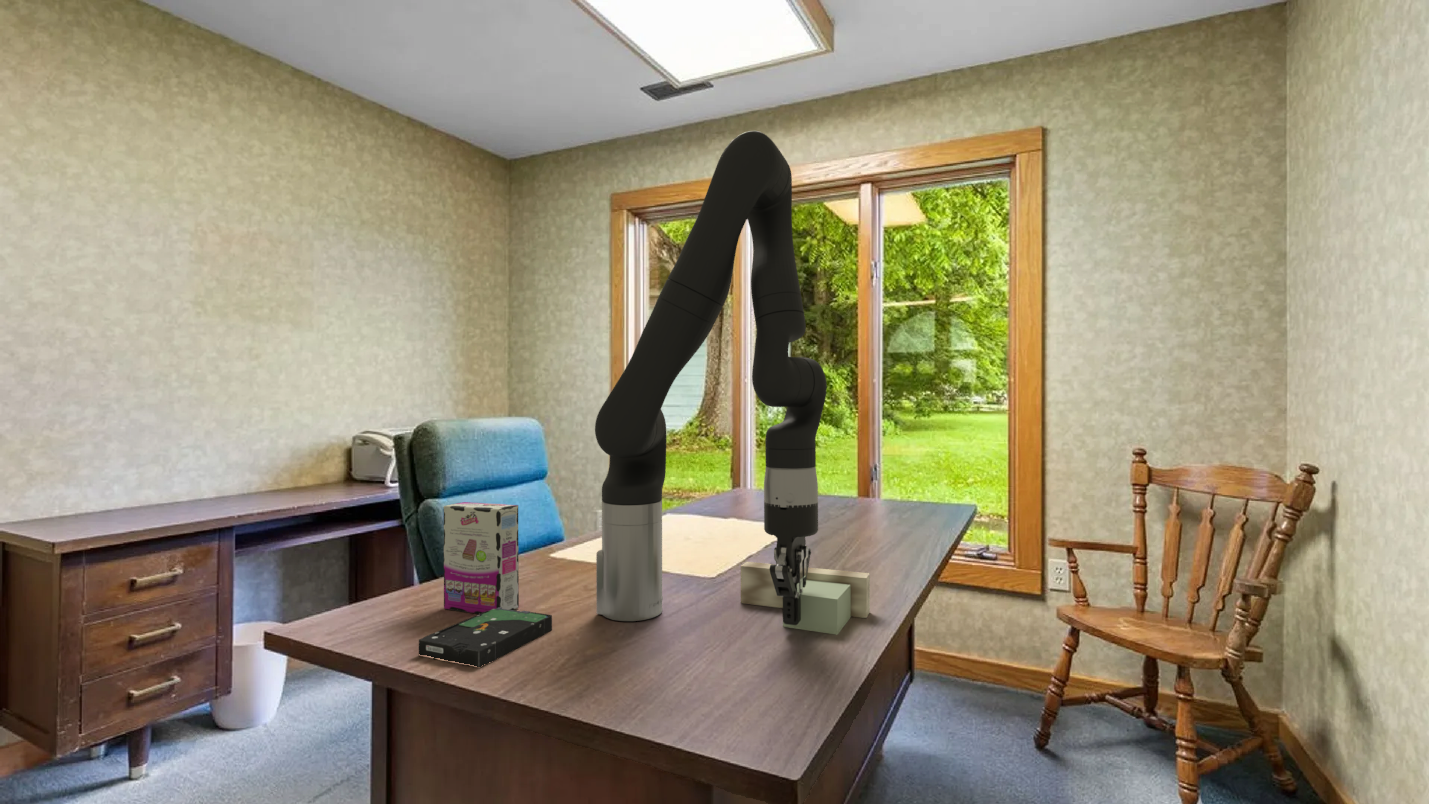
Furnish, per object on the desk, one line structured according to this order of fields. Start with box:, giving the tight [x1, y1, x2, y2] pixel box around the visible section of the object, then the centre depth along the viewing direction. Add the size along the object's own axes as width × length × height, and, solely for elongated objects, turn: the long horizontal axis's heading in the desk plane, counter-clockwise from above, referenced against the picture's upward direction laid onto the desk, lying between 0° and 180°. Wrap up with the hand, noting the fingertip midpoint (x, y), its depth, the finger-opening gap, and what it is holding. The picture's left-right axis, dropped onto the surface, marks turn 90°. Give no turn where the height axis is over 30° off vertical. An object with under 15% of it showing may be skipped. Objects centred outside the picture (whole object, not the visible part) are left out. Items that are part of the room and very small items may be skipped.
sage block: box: [782, 580, 852, 636], centre depth 98 cm, size 8×8×5 cm
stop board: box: [740, 561, 871, 619], centre depth 105 cm, size 20×3×6 cm, turn 68°
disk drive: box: [418, 607, 553, 668], centre depth 90 cm, size 10×3×15 cm
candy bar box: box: [442, 501, 520, 615], centre depth 104 cm, size 11×5×16 cm, turn 68°
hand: (791, 623), depth 93 cm, fingers closed
